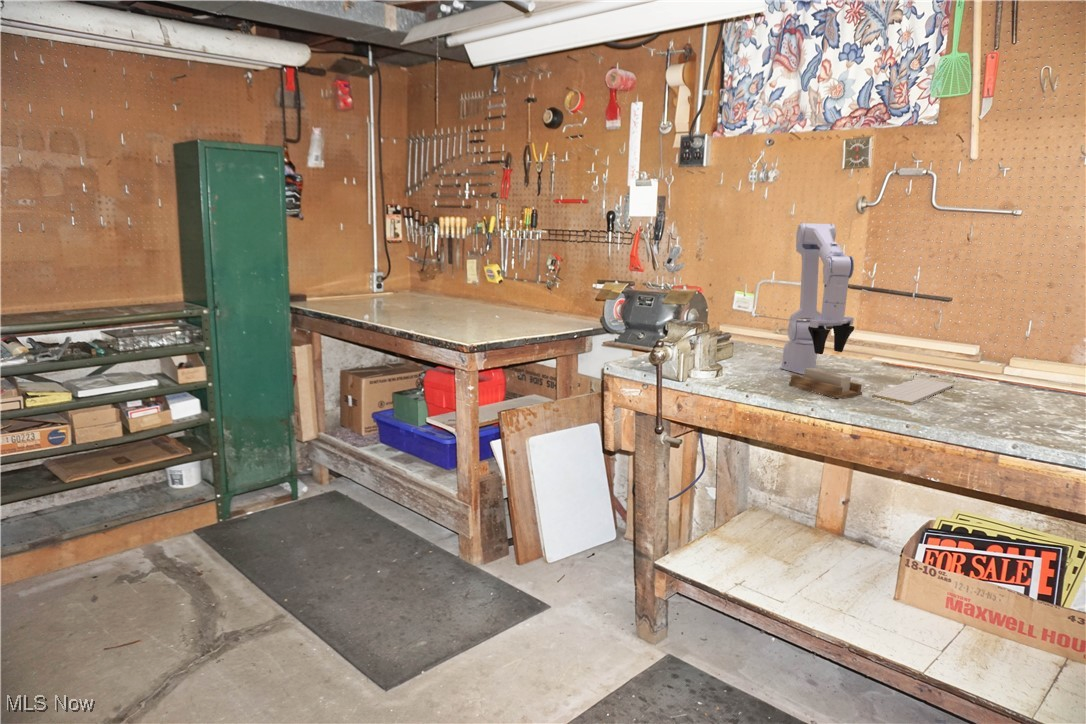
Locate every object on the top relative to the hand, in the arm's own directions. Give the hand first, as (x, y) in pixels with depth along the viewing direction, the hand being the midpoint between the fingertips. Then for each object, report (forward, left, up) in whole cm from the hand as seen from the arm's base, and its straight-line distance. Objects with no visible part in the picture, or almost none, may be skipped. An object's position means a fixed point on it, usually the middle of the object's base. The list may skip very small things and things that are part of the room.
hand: (828, 352), depth 184 cm
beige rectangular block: (0, 0, -9) cm, 9 cm away
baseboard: (+10, +22, -11) cm, 26 cm away
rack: (0, 0, -10) cm, 10 cm away
